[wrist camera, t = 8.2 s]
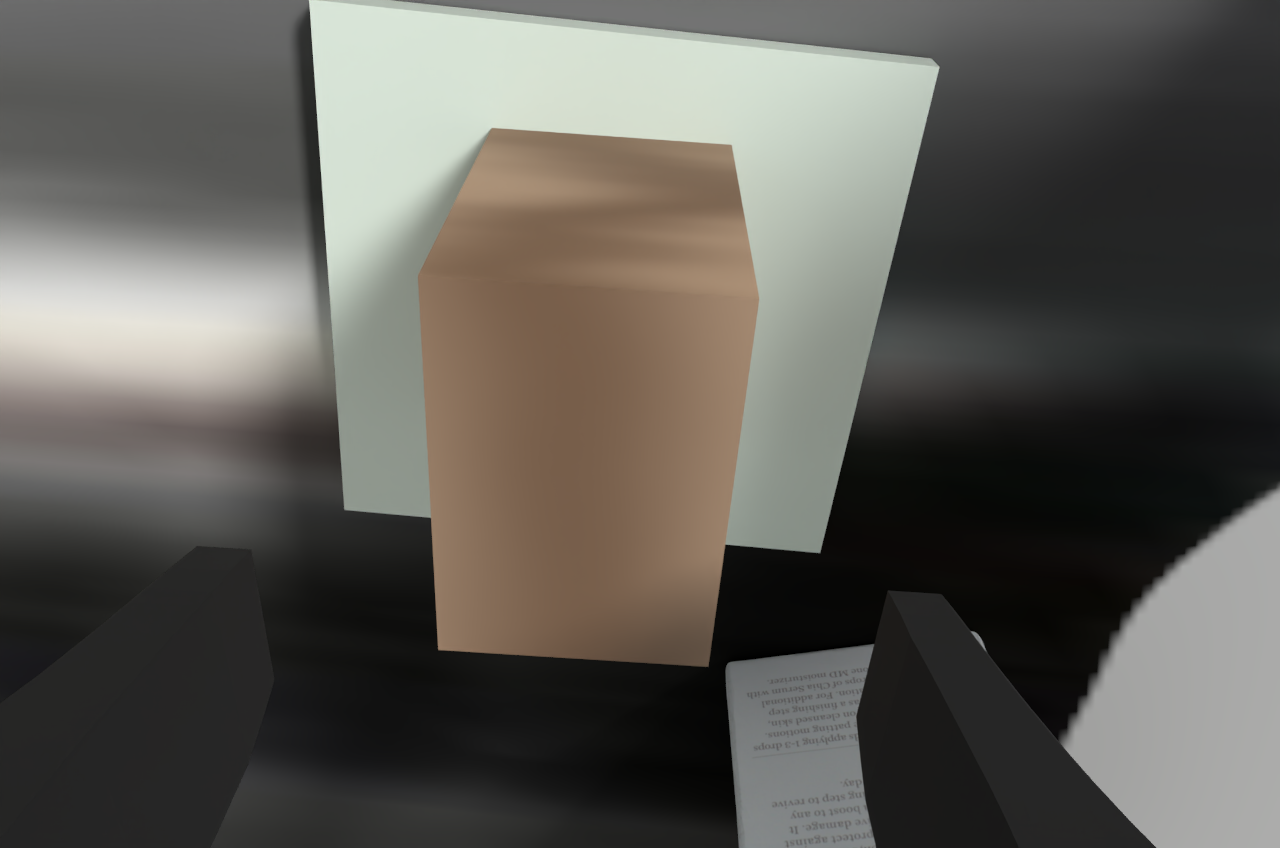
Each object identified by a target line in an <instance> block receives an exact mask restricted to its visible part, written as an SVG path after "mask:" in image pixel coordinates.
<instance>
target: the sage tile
mask: <svg viewBox="0 0 1280 848" xmlns="http://www.w3.org/2000/svg"><path fill="white" fill-rule="evenodd" d="M309 5H310V20H311V34H312V48H313V63H314V77H315V92H316V106H317V121H318V135H319V150H320V164H321V179H322V193H323V207H324V222H325V236H326V251H327V265H328V280H329V294H330V309H331V323H332V338H333V352H334V366H335V381H336V395H337V410H338V424H339V439H340V453H341V468H342V482H343V497H344V510H351V511H362V512H373V513H384V514H395V515H406V516H417V517H428V518H431V508H430V490H429V471H428V453H427V435H426V416H425V398H424V380H423V362H422V343H421V325H420V307H419V289H418V274H419V272H420V270H421V268H422V266H423V264H424V262H425V260H426V258H427V256H428V254H429V252H430V250H431V248H432V246H433V244H434V242H435V240H436V238H437V236H438V234H439V232H440V230H441V228H442V226H443V224H444V222H445V220H446V218H447V216H448V214H449V212H450V210H451V208H452V206H453V204H454V202H455V200H456V198H457V196H458V194H459V192H460V190H461V188H462V186H463V184H464V182H465V180H466V178H467V176H468V174H469V172H470V170H471V168H472V166H473V164H474V162H475V160H476V158H477V156H478V154H479V152H480V150H481V148H482V146H483V144H484V142H485V140H486V138H487V136H488V134H489V132H490V130H491V128H501V129H515V130H529V131H543V132H557V133H572V134H586V135H600V136H614V137H628V138H642V139H656V140H671V141H685V142H699V143H713V144H727V145H732V149H733V155H734V160H735V166H736V172H737V177H738V183H739V188H740V194H741V199H742V205H743V211H744V216H745V222H746V227H747V233H748V238H749V244H750V249H751V255H752V261H753V266H754V272H755V277H756V283H757V288H758V294H759V305H758V312H757V319H756V327H755V334H754V341H753V348H752V355H751V363H750V370H749V377H748V384H747V391H746V399H745V406H744V413H743V420H742V427H741V435H740V442H739V449H738V456H737V464H736V471H735V478H734V485H733V492H732V500H731V507H730V514H729V521H728V528H727V536H726V543H725V544H726V545H737V546H748V547H759V548H770V549H781V550H792V551H803V552H814V553H820V551H821V547H822V543H823V539H824V535H825V531H826V527H827V523H828V519H829V515H830V511H831V507H832V503H833V498H834V494H835V490H836V486H837V482H838V478H839V474H840V470H841V466H842V462H843V458H844V454H845V450H846V446H847V442H848V437H849V433H850V429H851V425H852V421H853V417H854V413H855V409H856V405H857V401H858V397H859V393H860V389H861V385H862V380H863V376H864V372H865V368H866V364H867V360H868V356H869V352H870V348H871V344H872V340H873V336H874V332H875V328H876V323H877V319H878V315H879V311H880V307H881V303H882V299H883V295H884V291H885V287H886V283H887V279H888V275H889V271H890V266H891V262H892V258H893V254H894V250H895V246H896V242H897V238H898V234H899V230H900V226H901V222H902V218H903V214H904V209H905V205H906V201H907V197H908V193H909V189H910V185H911V181H912V177H913V173H914V169H915V165H916V161H917V157H918V152H919V148H920V144H921V140H922V136H923V132H924V128H925V124H926V120H927V116H928V112H929V108H930V104H931V100H932V95H933V91H934V87H935V83H936V79H937V75H938V71H939V66H938V65H937V64H936V63H935V62H934V61H933V60H932V59H931V58H922V57H913V56H904V55H894V54H885V53H876V52H867V51H857V50H848V49H839V48H829V47H820V46H811V45H801V44H792V43H783V42H774V41H764V40H755V39H746V38H736V37H727V36H718V35H708V34H699V33H690V32H681V31H671V30H662V29H653V28H643V27H634V26H625V25H615V24H606V23H597V22H587V21H578V20H569V19H560V18H550V17H541V16H532V15H522V14H513V13H504V12H494V11H485V10H476V9H467V8H457V7H448V6H439V5H429V4H420V3H411V2H401V1H392V0H309Z"/></svg>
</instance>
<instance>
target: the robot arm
mask: <svg viewBox="0 0 1280 848" xmlns="http://www.w3.org/2000/svg"><path fill="white" fill-rule="evenodd" d="M273 683H274V674H273V669H272V663H271V658H270V652H269V646H268V641H267V635H266V630H265V624H264V618H263V613H262V607H261V602H260V596H259V590H258V585H257V579H256V574H255V568H254V562H253V557H252V551H251V550H248V549H233V548H217V547H202V546H197V547H196V548H194V549H193V550H192V551H191V552H189V553H188V554H187V555H185V556H184V557H183V558H182V559H180V560H179V561H178V562H177V563H176V564H174V565H173V566H172V567H171V568H170V569H168V570H167V571H166V572H165V573H163V574H162V575H161V576H160V577H159V578H157V579H156V580H155V581H154V582H153V583H151V584H150V585H149V586H148V587H146V588H145V589H144V590H143V591H142V592H140V593H139V594H138V595H137V596H136V597H134V598H133V599H132V600H131V601H130V602H128V603H127V604H126V605H125V606H124V607H122V608H121V609H120V610H119V611H117V612H116V613H115V614H114V615H113V616H111V617H110V618H109V619H108V620H107V621H105V622H104V623H103V624H102V625H100V626H99V627H98V628H97V629H96V630H94V631H93V632H92V633H91V634H89V635H88V636H87V637H86V638H84V639H83V640H82V641H81V642H79V643H78V644H77V645H76V646H74V647H73V648H72V649H71V650H69V651H68V652H67V653H66V654H64V655H63V656H62V657H61V658H59V659H58V660H57V661H56V662H54V663H53V664H52V665H51V666H49V667H48V668H47V669H46V670H44V671H43V672H42V673H41V674H39V675H38V676H37V677H35V678H34V679H32V680H31V681H30V682H28V683H27V684H26V685H24V686H23V687H22V688H20V689H19V690H18V691H16V692H15V693H13V694H12V695H11V696H9V697H8V698H7V699H5V700H4V701H3V702H1V703H0V848H210V847H211V845H212V843H213V841H214V839H215V836H216V834H217V832H218V830H219V828H220V826H221V823H222V821H223V819H224V817H225V814H226V812H227V810H228V808H229V806H230V803H231V801H232V799H233V797H234V795H235V792H236V790H237V788H238V786H239V784H240V781H241V779H242V777H243V774H244V772H245V770H246V768H247V765H248V763H249V760H250V757H251V754H252V751H253V748H254V745H255V742H256V739H257V736H258V733H259V729H260V726H261V723H262V720H263V716H264V713H265V710H266V706H267V703H268V700H269V696H270V693H271V690H272V686H273ZM856 720H857V730H858V740H859V750H860V760H861V768H862V777H863V785H864V793H865V801H866V806H867V810H868V815H869V819H870V823H871V828H872V832H873V836H874V841H875V845H876V848H1156V847H1155V846H1154V845H1153V844H1152V843H1151V842H1150V841H1149V840H1148V839H1147V838H1146V837H1145V836H1144V835H1143V834H1142V833H1141V832H1140V831H1139V830H1138V829H1137V828H1136V827H1135V826H1134V825H1133V824H1132V823H1131V822H1130V821H1129V820H1128V819H1127V818H1126V816H1125V815H1124V814H1123V813H1122V812H1121V811H1120V810H1119V809H1118V808H1117V807H1116V806H1115V805H1114V803H1113V802H1112V801H1111V800H1110V799H1109V798H1108V797H1107V796H1106V795H1105V794H1104V793H1103V792H1102V791H1101V789H1100V788H1099V787H1098V786H1097V785H1096V784H1095V783H1094V782H1093V781H1092V780H1091V779H1090V777H1089V776H1088V775H1087V774H1086V773H1085V772H1084V771H1083V770H1082V768H1081V767H1080V766H1079V765H1078V764H1077V763H1076V761H1075V760H1074V759H1073V758H1072V757H1071V756H1070V755H1069V753H1068V752H1067V751H1066V750H1065V749H1064V747H1063V746H1062V745H1061V744H1060V743H1059V741H1058V740H1057V739H1056V738H1055V737H1054V736H1053V734H1052V733H1051V732H1050V731H1049V730H1048V728H1047V727H1046V726H1045V725H1044V724H1043V722H1042V721H1041V720H1040V719H1039V718H1038V716H1037V715H1036V714H1035V713H1034V712H1033V710H1032V709H1031V708H1030V707H1029V706H1028V704H1027V703H1026V702H1025V701H1024V699H1023V698H1022V697H1021V696H1020V694H1019V693H1018V692H1017V691H1016V689H1015V688H1014V687H1013V686H1012V684H1011V683H1010V682H1009V680H1008V679H1007V678H1006V677H1005V675H1004V674H1003V673H1002V671H1001V670H1000V669H999V668H998V666H997V665H996V664H995V663H994V661H993V660H992V659H991V657H990V656H989V655H988V653H987V652H986V651H985V650H984V648H983V647H982V646H981V644H980V643H979V642H978V640H977V639H976V638H975V637H974V635H973V634H972V633H971V631H970V630H969V629H968V627H967V626H966V625H965V623H964V622H963V621H962V619H961V618H960V617H959V616H958V614H957V613H956V612H955V610H954V609H953V608H952V607H951V605H950V604H949V603H948V602H947V600H946V599H945V598H944V597H943V595H942V594H933V593H918V592H902V591H888V592H887V596H886V600H885V604H884V608H883V612H882V615H881V619H880V623H879V627H878V631H877V635H876V639H875V643H874V647H873V651H872V655H871V659H870V663H869V667H868V671H867V675H866V679H865V683H864V687H863V691H862V695H861V699H860V703H859V707H858V711H857V715H856Z"/></svg>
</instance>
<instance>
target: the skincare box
mask: <svg viewBox="0 0 1280 848" xmlns="http://www.w3.org/2000/svg"><path fill="white" fill-rule="evenodd" d="M971 633H972V634H973V635H974V637H975V638H976V639H977V640H978V642H979V643H980V644H981V646H982V647H983V648H984V650H985V651H986V649H985V647H984V644H983V642H982V640H981V638H980V636H979V635H978V634H977V633H976V632H973V631H971ZM873 647H874V644H870V645H862V646H854V647H847V648H839V649H831V650H823V651H816V652H808V653H800V654H792V655H784V656H776V657H768V658H760V659H752V660H742V661H733V662H729V663H728V664H727V666H726V671H725V672H726V692H727V703H728V715H729V727H730V739H731V752H732V763H733V775H734V788H735V799H736V811H737V828H738V841H739V848H876V845H875V841H874V836H873V832H872V828H871V823H870V819H869V815H868V810H867V806H866V801H865V793H864V785H863V777H862V768H861V760H860V750H859V740H858V730H857V720H856V715H857V711H858V707H859V703H860V699H861V695H862V691H863V687H864V683H865V679H866V675H867V671H868V667H869V663H870V659H871V655H872V651H873Z"/></svg>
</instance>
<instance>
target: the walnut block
mask: <svg viewBox="0 0 1280 848" xmlns="http://www.w3.org/2000/svg"><path fill="white" fill-rule="evenodd" d="M418 289H419V307H420V325H421V343H422V362H423V380H424V398H425V416H426V435H427V453H428V471H429V490H430V508H431V526H432V544H433V563H434V581H435V599H436V617H437V636H438V650H447V651H463V652H479V653H495V654H511V655H527V656H543V657H559V658H575V659H591V660H607V661H623V662H639V663H655V664H671V665H687V666H703V667H708V665H709V658H710V651H711V644H712V636H713V629H714V622H715V615H716V608H717V600H718V593H719V586H720V579H721V572H722V564H723V557H724V550H725V543H726V536H727V528H728V521H729V514H730V507H731V500H732V492H733V485H734V478H735V471H736V464H737V456H738V449H739V442H740V435H741V427H742V420H743V413H744V406H745V399H746V391H747V384H748V377H749V370H750V363H751V355H752V348H753V341H754V334H755V327H756V319H757V312H758V305H759V294H758V288H757V283H756V277H755V272H754V266H753V261H752V255H751V249H750V244H749V238H748V233H747V227H746V222H745V216H744V211H743V205H742V199H741V194H740V188H739V183H738V177H737V172H736V166H735V160H734V155H733V149H732V145H727V144H713V143H699V142H685V141H671V140H656V139H642V138H628V137H614V136H600V135H586V134H572V133H557V132H543V131H529V130H515V129H501V128H491V130H490V132H489V134H488V136H487V138H486V140H485V142H484V144H483V146H482V148H481V150H480V152H479V154H478V156H477V158H476V160H475V162H474V164H473V166H472V168H471V170H470V172H469V174H468V176H467V178H466V180H465V182H464V184H463V186H462V188H461V190H460V192H459V194H458V196H457V198H456V200H455V202H454V204H453V206H452V208H451V210H450V212H449V214H448V216H447V218H446V220H445V222H444V224H443V226H442V228H441V230H440V232H439V234H438V236H437V238H436V240H435V242H434V244H433V246H432V248H431V250H430V252H429V254H428V256H427V258H426V260H425V262H424V264H423V266H422V268H421V270H420V272H419V274H418Z"/></svg>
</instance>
